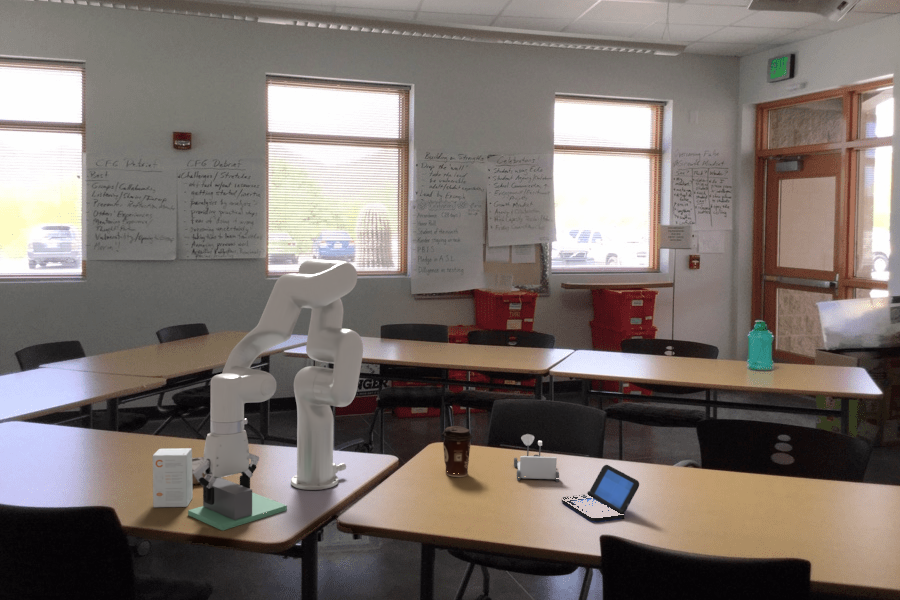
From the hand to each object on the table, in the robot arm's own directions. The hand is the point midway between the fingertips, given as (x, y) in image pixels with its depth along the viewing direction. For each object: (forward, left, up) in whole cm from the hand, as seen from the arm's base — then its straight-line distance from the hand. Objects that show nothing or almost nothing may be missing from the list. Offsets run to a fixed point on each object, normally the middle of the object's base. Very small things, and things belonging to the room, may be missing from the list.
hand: (227, 498), depth 183 cm
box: (-11, -33, -5) cm, 35 cm away
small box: (+4, -17, -5) cm, 18 cm away
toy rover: (-81, +33, -5) cm, 87 cm away
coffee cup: (-63, +18, -4) cm, 66 cm away
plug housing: (0, 0, -3) cm, 3 cm away
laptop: (-66, +62, -5) cm, 91 cm away
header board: (-3, 0, -4) cm, 5 cm away
